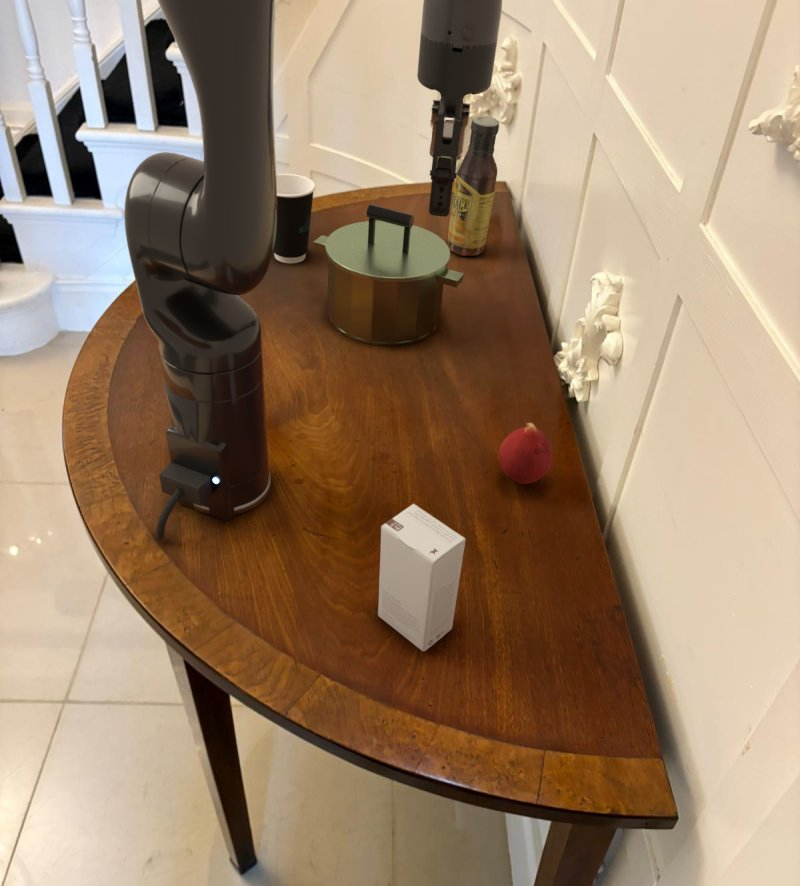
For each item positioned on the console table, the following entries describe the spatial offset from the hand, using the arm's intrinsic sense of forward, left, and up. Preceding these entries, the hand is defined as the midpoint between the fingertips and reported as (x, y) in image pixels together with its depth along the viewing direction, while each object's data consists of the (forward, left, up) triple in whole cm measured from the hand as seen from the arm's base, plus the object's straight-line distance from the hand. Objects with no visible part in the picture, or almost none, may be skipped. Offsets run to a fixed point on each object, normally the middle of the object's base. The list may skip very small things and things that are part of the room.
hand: (440, 199), depth 88 cm
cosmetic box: (-40, -15, -22) cm, 48 cm away
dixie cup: (+18, +30, -22) cm, 41 cm away
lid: (+9, +10, -12) cm, 18 cm away
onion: (-16, -18, -22) cm, 33 cm away
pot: (+9, +10, -22) cm, 25 cm away
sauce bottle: (+35, +7, -22) cm, 42 cm away
